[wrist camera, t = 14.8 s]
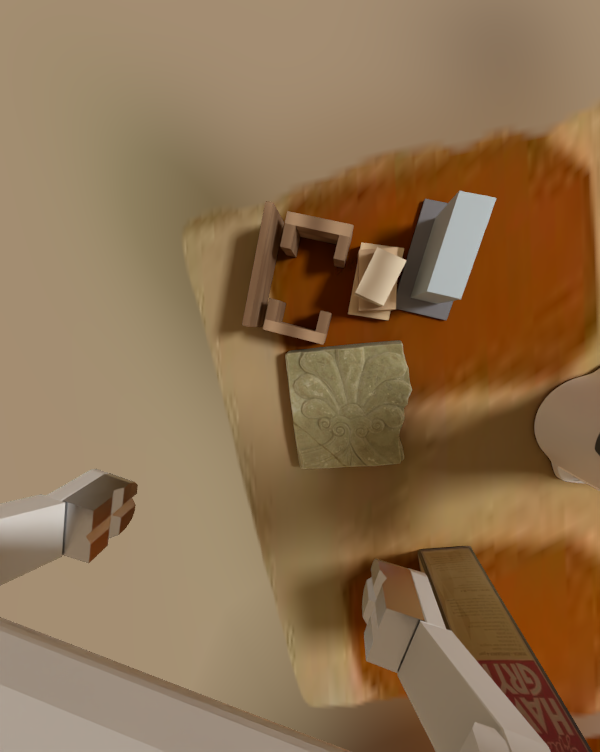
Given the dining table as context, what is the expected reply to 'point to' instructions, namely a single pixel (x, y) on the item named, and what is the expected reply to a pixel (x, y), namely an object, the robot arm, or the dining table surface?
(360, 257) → the offcut middle
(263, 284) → the rack
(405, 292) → the mat
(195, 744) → the robot arm
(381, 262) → the offcut top
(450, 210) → the light blue rectangular block
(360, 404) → the decorative tile
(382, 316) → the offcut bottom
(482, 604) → the food packaging
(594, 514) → the dining table surface
